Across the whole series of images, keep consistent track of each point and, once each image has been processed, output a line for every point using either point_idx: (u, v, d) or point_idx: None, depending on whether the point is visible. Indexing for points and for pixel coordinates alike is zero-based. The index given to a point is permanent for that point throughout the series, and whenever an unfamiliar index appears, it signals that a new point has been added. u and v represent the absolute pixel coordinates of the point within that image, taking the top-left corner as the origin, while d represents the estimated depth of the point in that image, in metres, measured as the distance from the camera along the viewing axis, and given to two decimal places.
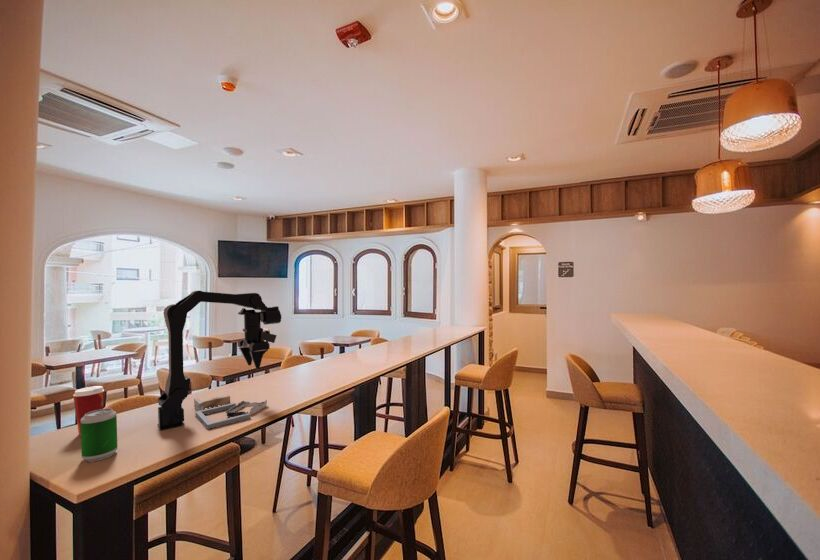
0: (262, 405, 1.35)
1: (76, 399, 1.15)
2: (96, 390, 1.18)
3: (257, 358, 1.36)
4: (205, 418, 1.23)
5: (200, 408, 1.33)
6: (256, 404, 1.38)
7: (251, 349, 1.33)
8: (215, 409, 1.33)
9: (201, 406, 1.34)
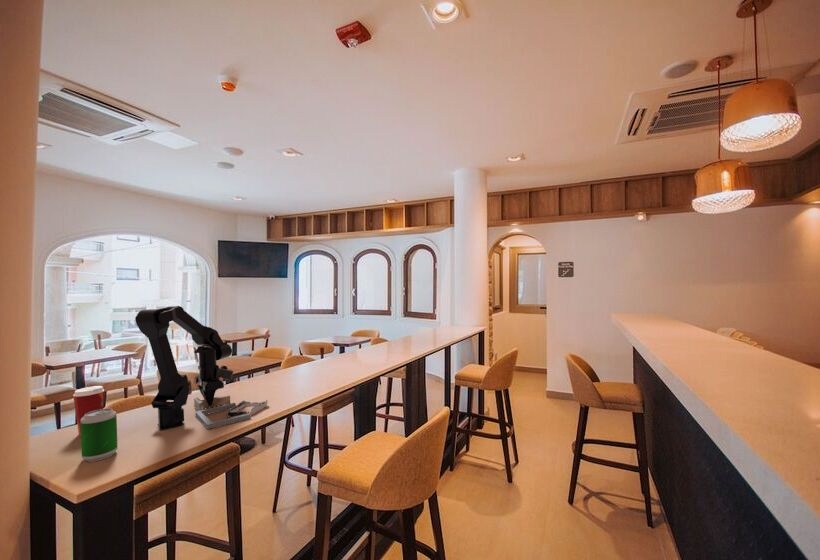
0: (263, 405, 1.35)
1: (76, 399, 1.15)
2: (96, 390, 1.18)
3: (209, 396, 1.37)
4: (205, 418, 1.23)
5: (200, 408, 1.33)
6: (257, 404, 1.39)
7: (204, 389, 1.32)
8: (215, 409, 1.33)
9: (201, 406, 1.34)
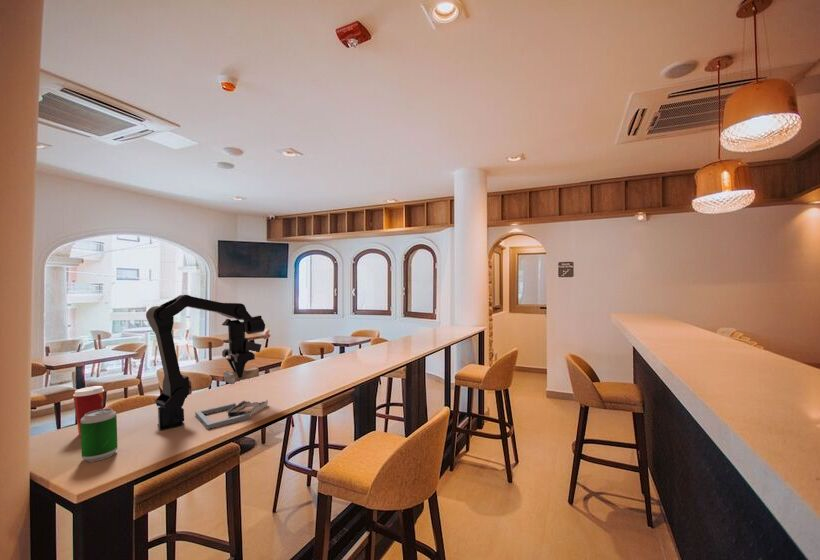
0: (263, 405, 1.36)
1: (76, 399, 1.15)
2: (96, 390, 1.18)
3: (239, 368, 1.39)
4: (205, 418, 1.23)
5: (232, 379, 1.35)
6: (257, 404, 1.39)
7: (236, 360, 1.33)
8: (215, 409, 1.33)
9: (233, 377, 1.35)
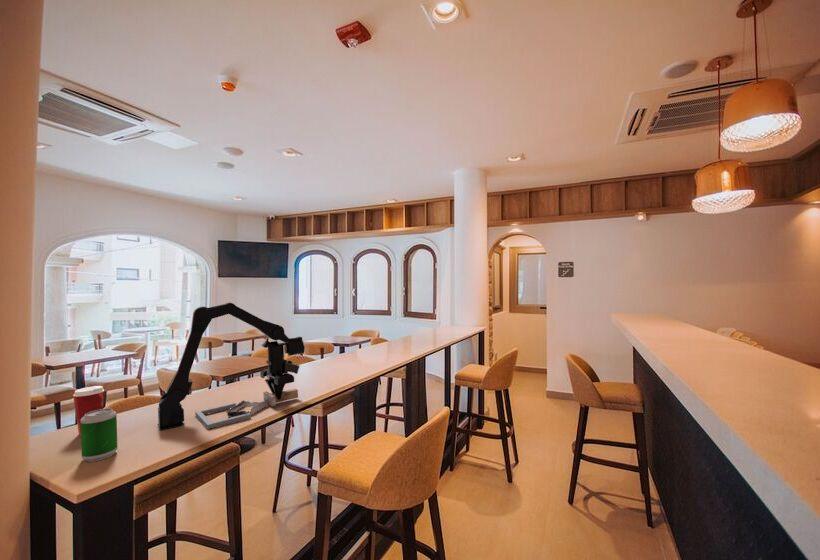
0: (263, 404, 1.36)
1: (76, 399, 1.15)
2: (96, 390, 1.18)
3: (278, 390, 1.38)
4: (205, 418, 1.23)
5: (273, 401, 1.35)
6: (256, 404, 1.39)
7: (276, 383, 1.32)
8: (215, 409, 1.33)
9: (273, 399, 1.35)
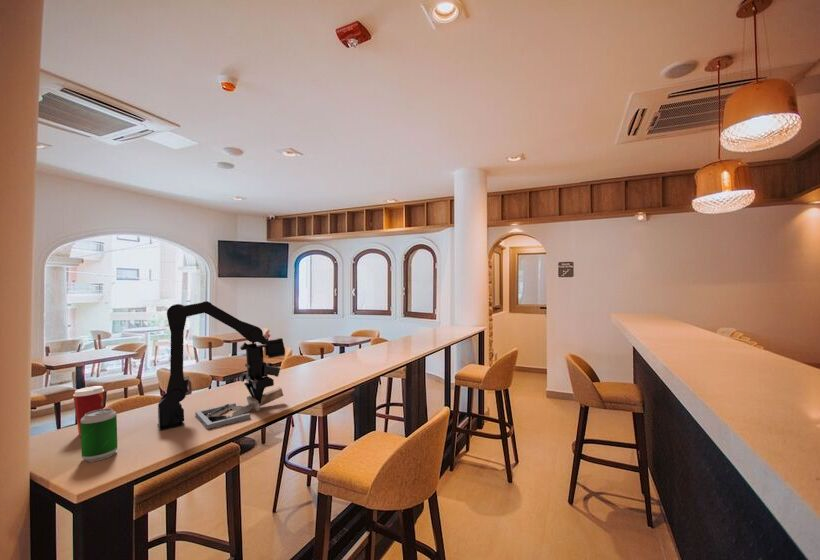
0: (246, 409, 1.31)
1: (76, 399, 1.15)
2: (96, 390, 1.18)
3: (258, 394, 1.33)
4: (205, 418, 1.23)
5: (256, 406, 1.31)
6: (240, 408, 1.35)
7: (255, 387, 1.27)
8: (215, 409, 1.33)
9: (257, 404, 1.31)
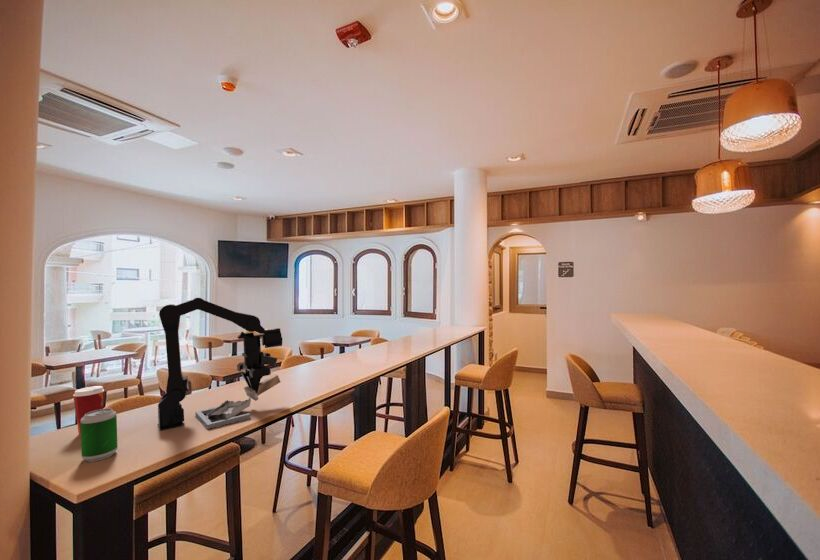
0: (246, 403, 1.32)
1: (76, 399, 1.15)
2: (96, 390, 1.18)
3: (254, 383, 1.32)
4: (205, 418, 1.23)
5: (254, 396, 1.30)
6: (240, 403, 1.35)
7: (251, 376, 1.27)
8: None
9: (254, 394, 1.31)
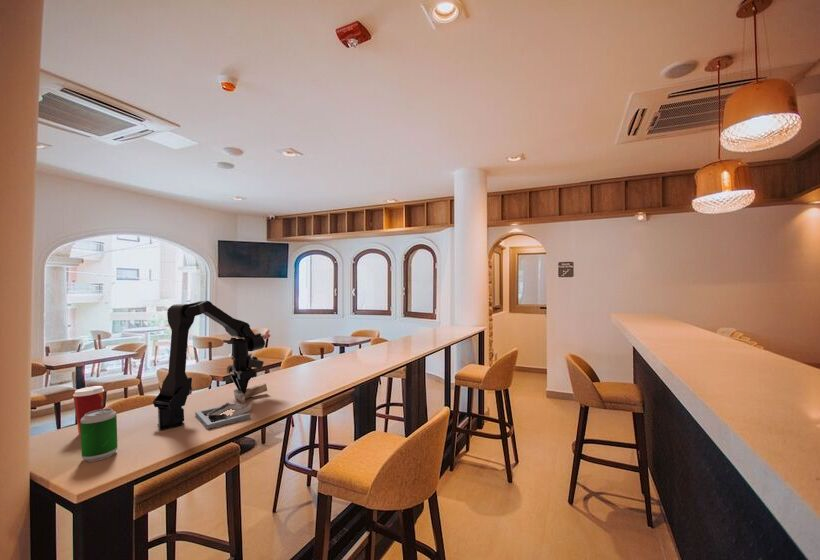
0: (246, 407, 1.32)
1: (76, 399, 1.15)
2: (96, 390, 1.18)
3: (243, 384, 1.45)
4: (205, 418, 1.23)
5: (242, 398, 1.44)
6: (241, 406, 1.35)
7: (239, 377, 1.40)
8: None
9: (242, 396, 1.44)
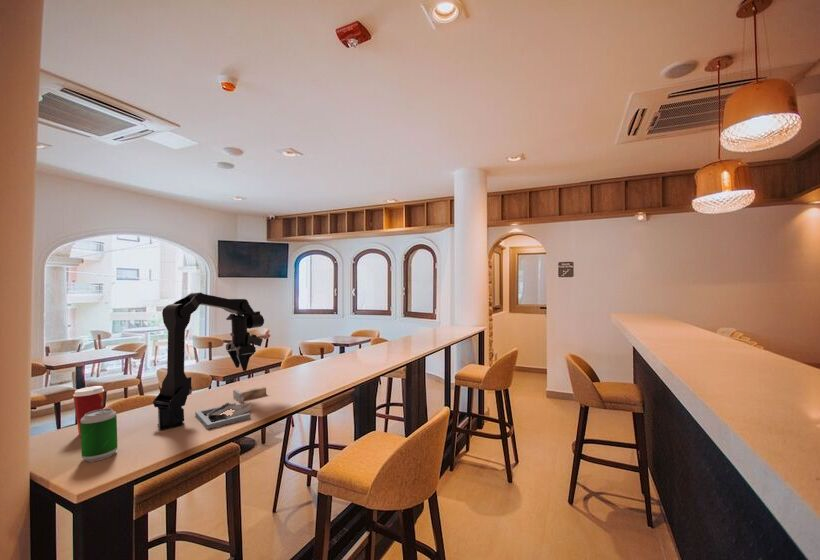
0: (246, 407, 1.32)
1: (76, 399, 1.15)
2: (96, 390, 1.18)
3: (243, 361, 1.43)
4: (205, 418, 1.23)
5: (240, 398, 1.44)
6: (241, 406, 1.35)
7: (238, 352, 1.40)
8: None
9: (241, 396, 1.44)
